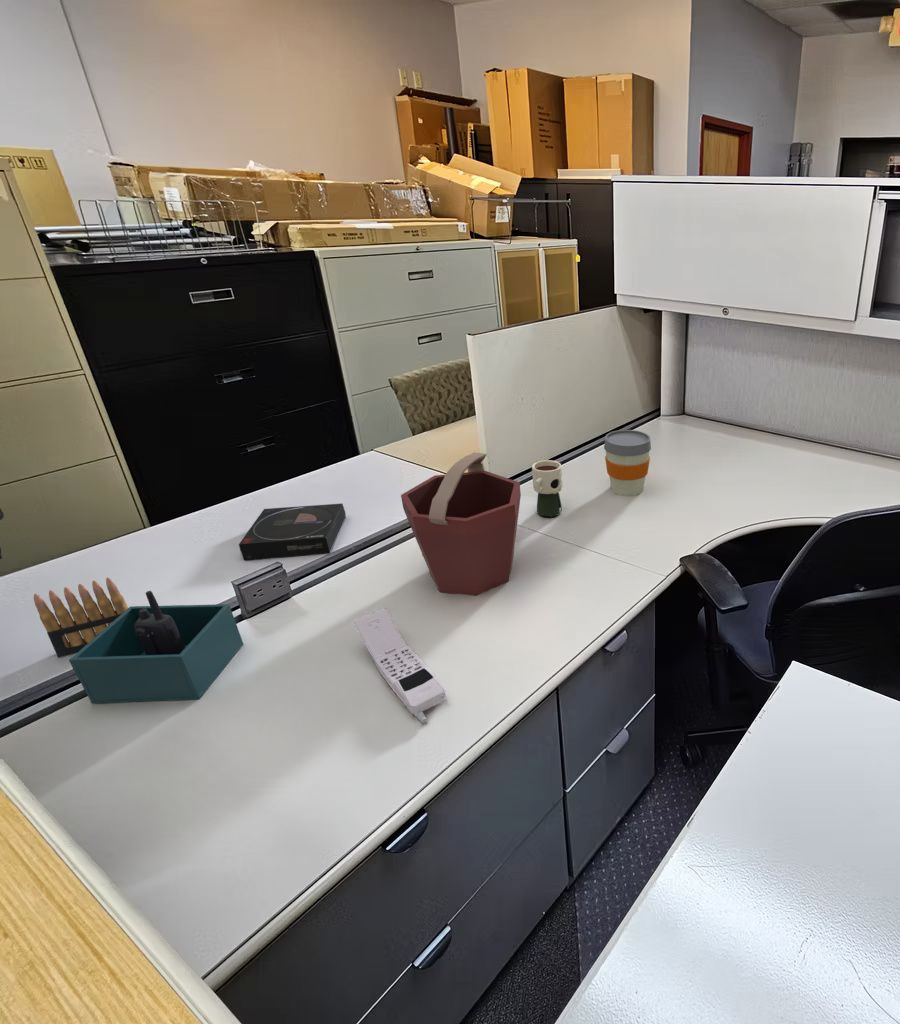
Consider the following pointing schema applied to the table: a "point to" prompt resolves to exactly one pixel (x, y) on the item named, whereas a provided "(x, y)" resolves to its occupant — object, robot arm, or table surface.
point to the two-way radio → (157, 631)
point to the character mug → (547, 486)
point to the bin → (158, 657)
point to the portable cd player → (293, 532)
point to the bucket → (465, 526)
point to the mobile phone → (399, 663)
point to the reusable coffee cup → (627, 460)
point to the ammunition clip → (79, 616)
